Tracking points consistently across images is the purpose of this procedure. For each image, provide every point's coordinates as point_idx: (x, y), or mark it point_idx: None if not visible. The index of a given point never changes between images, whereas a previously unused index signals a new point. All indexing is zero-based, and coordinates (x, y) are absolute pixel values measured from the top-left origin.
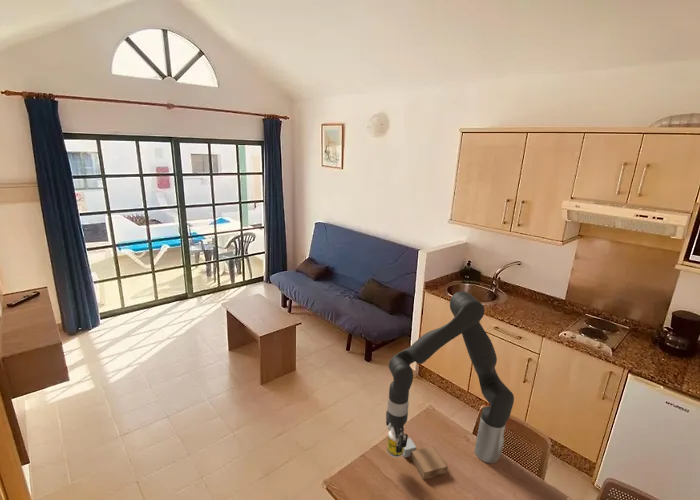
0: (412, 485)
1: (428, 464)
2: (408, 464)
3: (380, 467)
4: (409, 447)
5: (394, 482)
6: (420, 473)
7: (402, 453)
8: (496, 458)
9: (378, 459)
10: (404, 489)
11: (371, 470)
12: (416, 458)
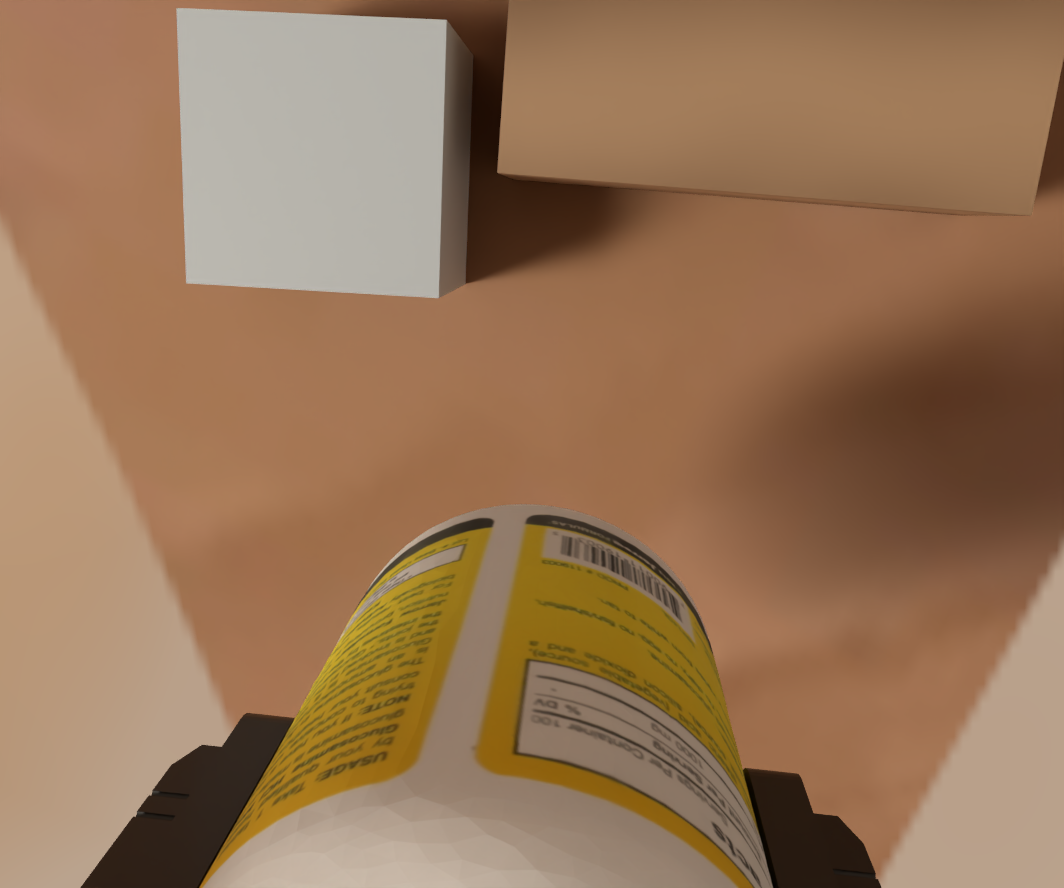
0: (959, 434)
1: (914, 10)
2: (606, 287)
3: None
4: (407, 174)
5: (797, 650)
6: (867, 207)
7: (694, 610)
8: None
9: None
10: (958, 578)
11: None
12: (688, 178)
